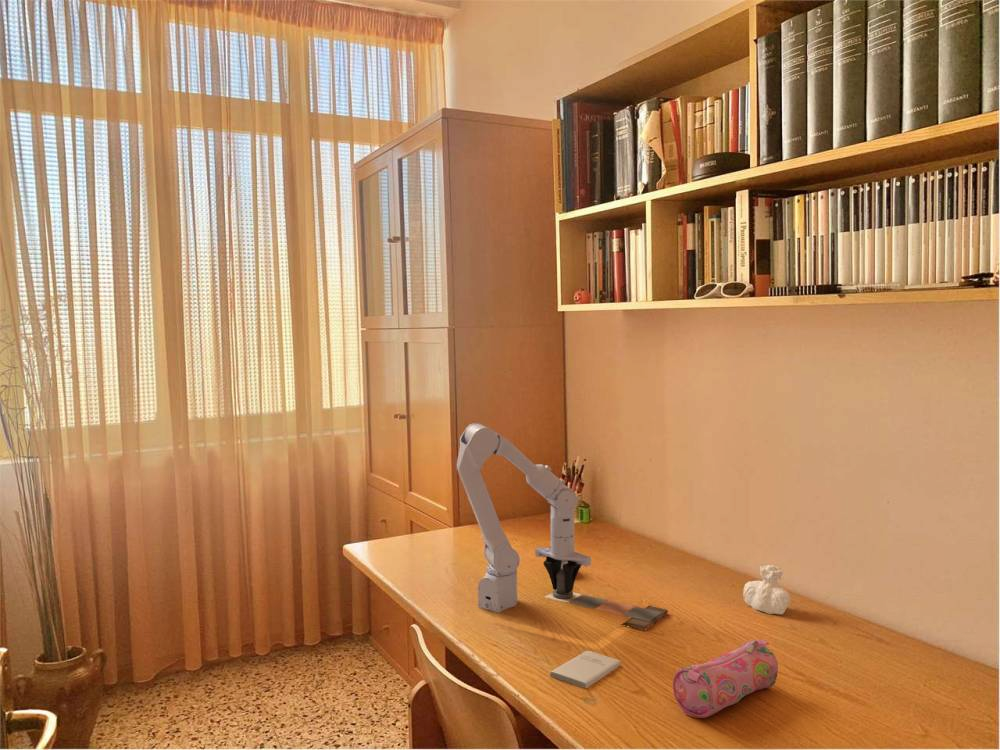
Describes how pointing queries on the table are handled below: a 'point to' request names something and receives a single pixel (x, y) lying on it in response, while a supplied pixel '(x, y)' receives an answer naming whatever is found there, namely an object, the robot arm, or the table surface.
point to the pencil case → (725, 679)
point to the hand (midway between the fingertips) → (562, 589)
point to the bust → (767, 592)
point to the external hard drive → (585, 669)
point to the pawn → (561, 587)
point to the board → (619, 610)
